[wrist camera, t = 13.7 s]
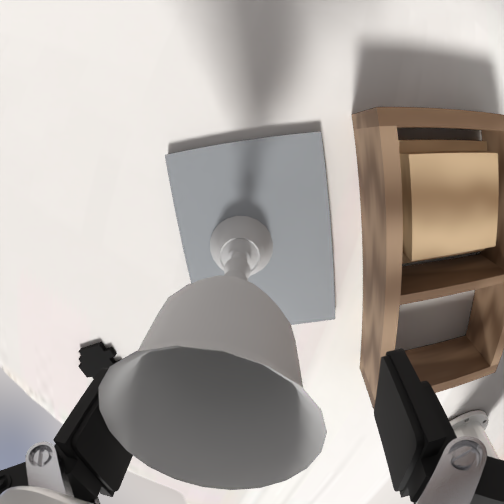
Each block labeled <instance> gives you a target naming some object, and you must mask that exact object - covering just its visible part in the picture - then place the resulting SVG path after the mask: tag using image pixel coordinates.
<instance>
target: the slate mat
mask: <svg viewBox="0 0 504 504" xmlns="http://www.w3.org/2000/svg"><path fill="white" fill-rule="evenodd" d="M165 158H166V164H167V170H168V175H169V181H170V186H171V191H172V197H173V202H174V207H175V212H176V217H177V221H178V226H179V231H180V236H181V240H182V245H183V249H184V254H185V258H186V263H187V267H188V271H189V275H190V280H191V283H194V282H196V281H199V280H201V279H205V278H209V277H214V276H218V275H221V276H224V274H225V273H224V271H223V270H222V269H221V268H220V267H219V266H218V265H217V264H216V262H215V261H214V260H213V257H212V254H211V252H210V239H211V236H212V233H213V231H214V230H215V228H216V227H217V226H218V225H219V224H220V223H221V222H223V221H224V220H226V219H227V218H231V217H234V216H248V217H251V218H254V219H256V220H258V221H259V222H260V223H262V224H263V225H264V226H265V227H266V228H267V230H268V231H269V233H270V234H271V238H272V241H273V253H272V256H271V258H270V261H269V262H268V264H267V265H266V266H265V267H264V268H263V269H262V270H260V271H259V272H257V273H256V274H253V275H251V276H249V278H248V282H251V283H253V284H254V285H256V286H257V287H258V288H260V289H261V290H262V291H263V292H265V293H266V294H267V295H268V296H269V297H270V298H271V299H272V300H273V301H274V302H275V303H276V304H277V305H278V307H279V308H280V310H281V311H282V312H283V314H284V315H285V317H286V318H287V319H288V321H289V322H290V324H291V325H293V324H301V323H310V322H317V321H325V320H332V319H335V295H334V270H333V252H332V236H331V223H330V210H329V199H328V189H327V179H326V169H325V161H324V152H323V144H322V136H321V132H309V133H299V134H290V135H281V136H273V137H265V138H258V139H250V140H244V141H237V142H231V143H225V144H219V145H213V146H207V147H202V148H197V149H191V150H186V151H181V152H177V153H172V154H167V155H165Z"/></svg>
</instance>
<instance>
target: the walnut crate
mask: <svg viewBox="0 0 504 504" xmlns="http://www.w3.org/2000/svg"><path fill="white" fill-rule="evenodd" d="M352 121H353V128H354V136H355V145H356V154H357V164H358V175H359V187H360V201H361V219H362V244H363V315H362V340H361V357H360V370H361V373H362V376H363V379H364V382H365V385H366V388H367V391H368V394H369V397H370V400H371V403H372V406H373V408H374V406H375V399H376V393H377V385H378V378H379V370H380V361H381V357H383V356H385V355H386V352H387V351H392V350H395V344H396V336H397V327H398V317H399V307H400V305H402V304H407V303H413V302H418V301H423V300H428V299H433V298H438V297H443V296H448V295H453V294H457V293H462V292H466V291H471V290H475V293H474V299H473V304H472V309H471V314H470V319H469V323H468V328H467V332H466V335H465V336H462V337H458V338H454V339H451V340H447V341H443V342H439V343H435V344H431V345H427V346H423V347H419V348H414V349H410V350H406V351H405V353H406V355H407V357H408V358H409V360H410V362H411V364H412V366H413V368H414V370H415V372H416V374H417V376H418V377H419V379H420V381H421V382H422V381H428V382H429V383H430V385H431V387H432V388H433V390H434V392H435V393H436V392H440V391H443V390H446V389H449V388H453V387H456V386H459V385H462V384H465V383H467V382H470V381H473V380H476V379H479V378H481V377H484V376H487V375H489V374H492V373H494V372H496V369H497V366H498V364H499V361H500V358H501V355H502V352H503V350H504V115H501V114H493V113H485V112H476V111H466V110H455V109H440V108H418V107H375V108H372V109H369V110H365V111H362V112H359V113H356V114H352ZM397 128H449V129H469V130H481V131H482V141H487V152H494V153H498V175H499V197H498V222H497V236H496V246H494V247H489V248H485V250H484V251H480V254H476V255H470V256H464V257H459V258H453V259H446V260H440V261H434V262H428V263H421V264H415V265H408V266H402V252H403V208H402V182H401V166H400V153H399V142H398V133H397Z"/></svg>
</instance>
